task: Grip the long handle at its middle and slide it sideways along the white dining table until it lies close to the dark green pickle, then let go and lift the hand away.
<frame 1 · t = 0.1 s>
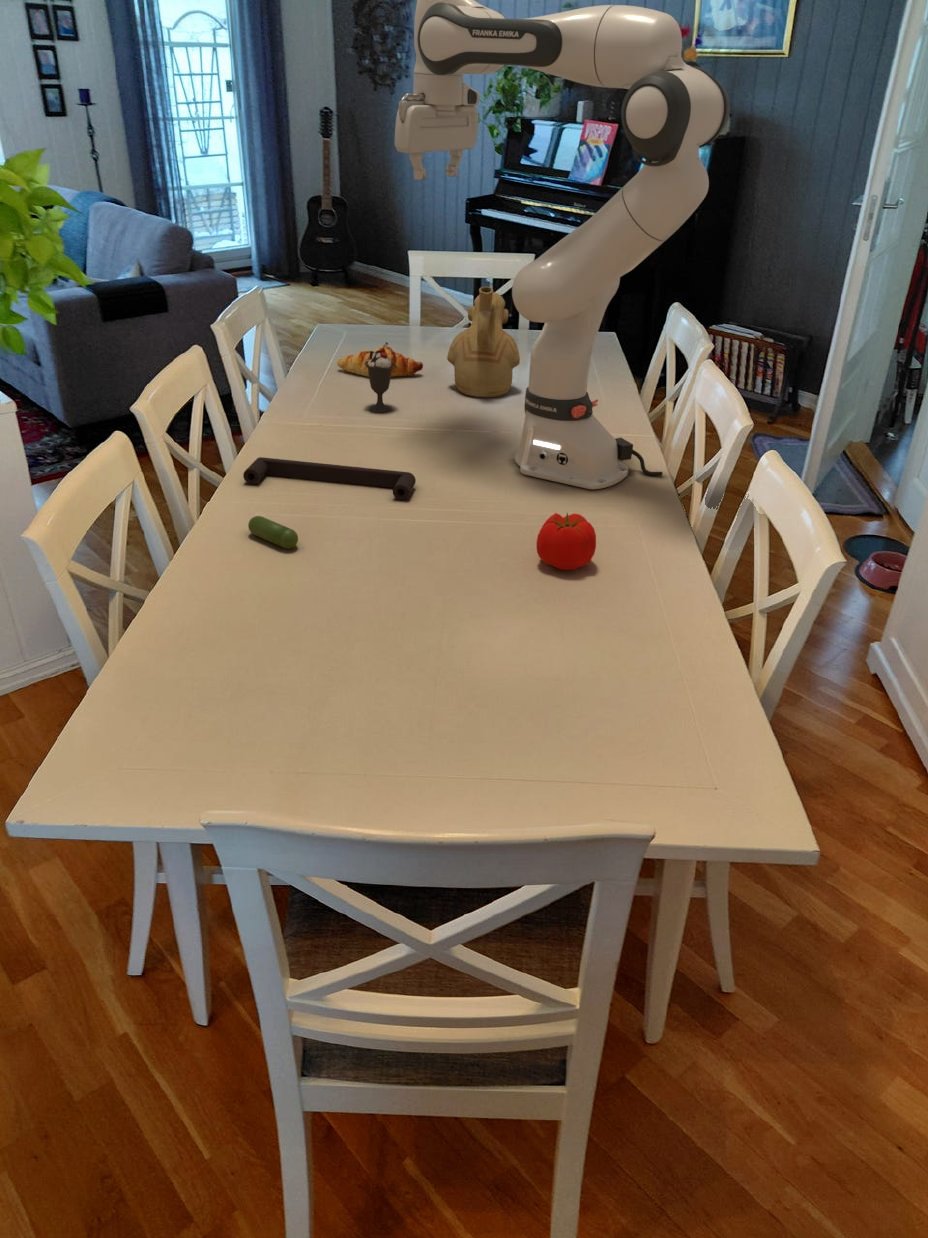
hand: (436, 177, 174), 48 cm above the table, tool pointing down, fingers open, 8 cm apart
tomato: (562, 564, 147), on the table
sundae: (380, 409, 207), on the table
croissant: (380, 373, 230), on the table
pickle: (273, 541, 149), on the table
handle: (330, 486, 169), on the table
ceramic vessel: (481, 390, 221), on the table
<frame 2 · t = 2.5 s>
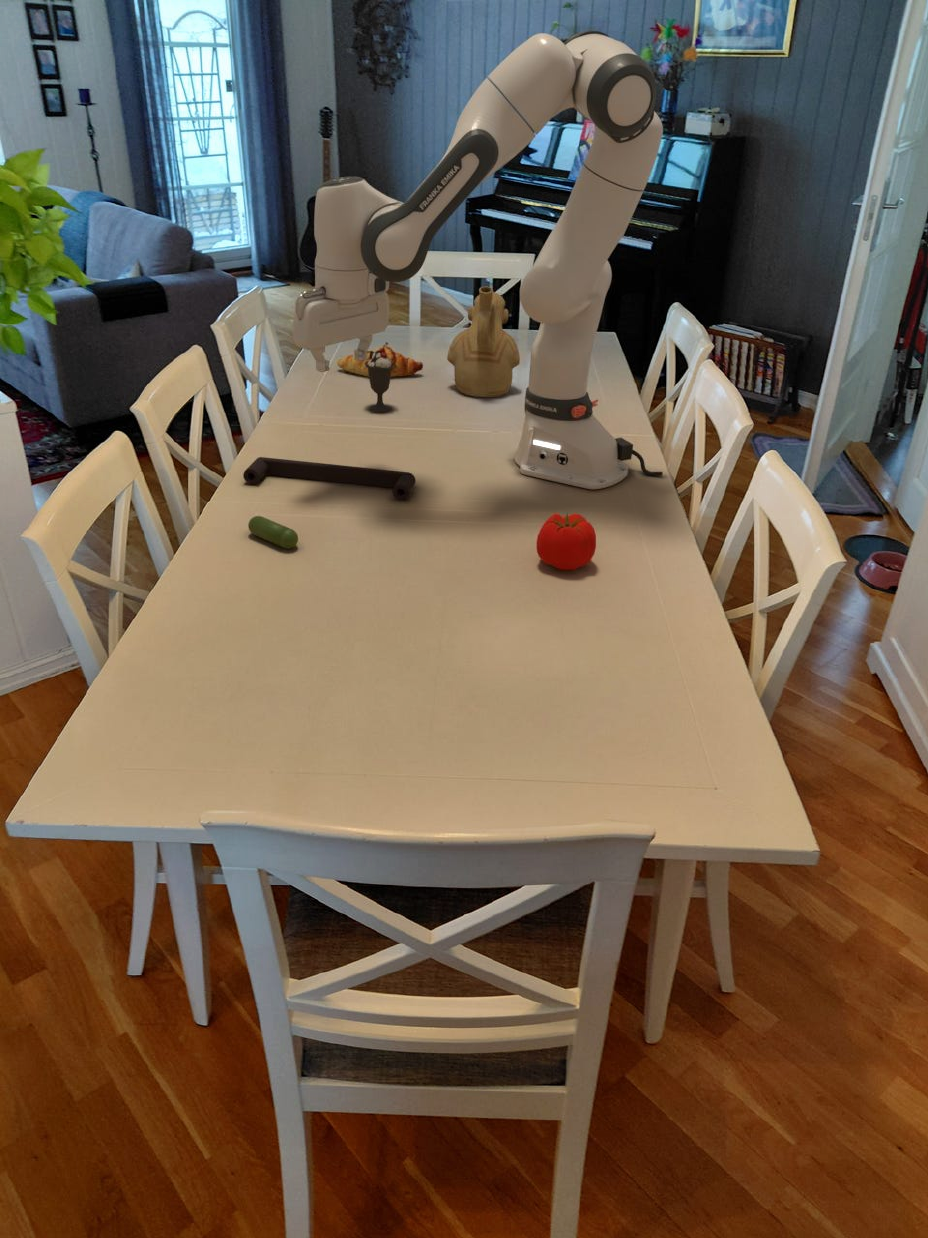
hand: (342, 365, 163), 21 cm above the table, tool pointing down, fingers open, 8 cm apart
nothing on the table moved.
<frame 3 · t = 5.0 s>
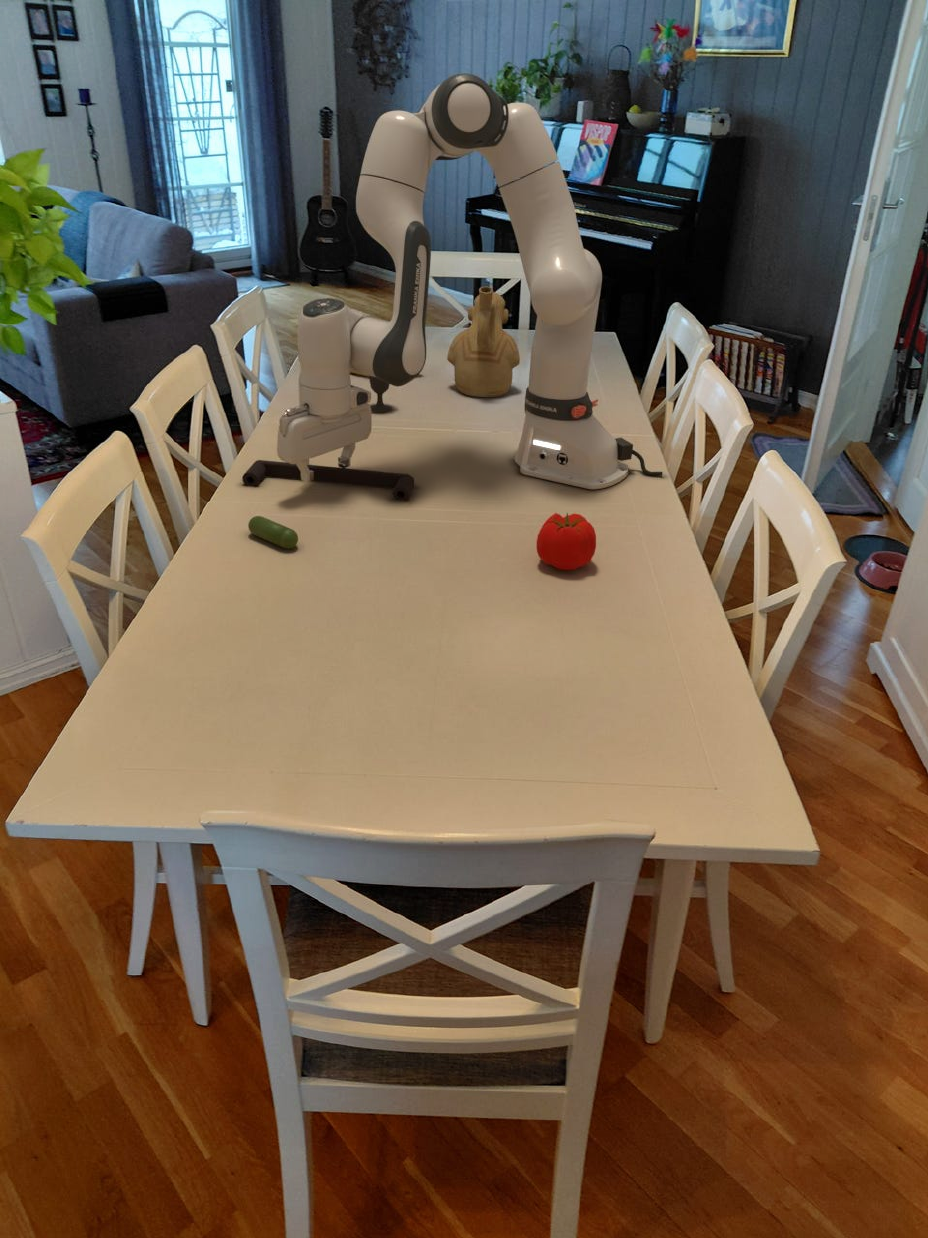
hand: (326, 473, 168), 2 cm above the table, tool pointing down
handle: (329, 489, 169), on the table, touching gripper
everything else where it was.
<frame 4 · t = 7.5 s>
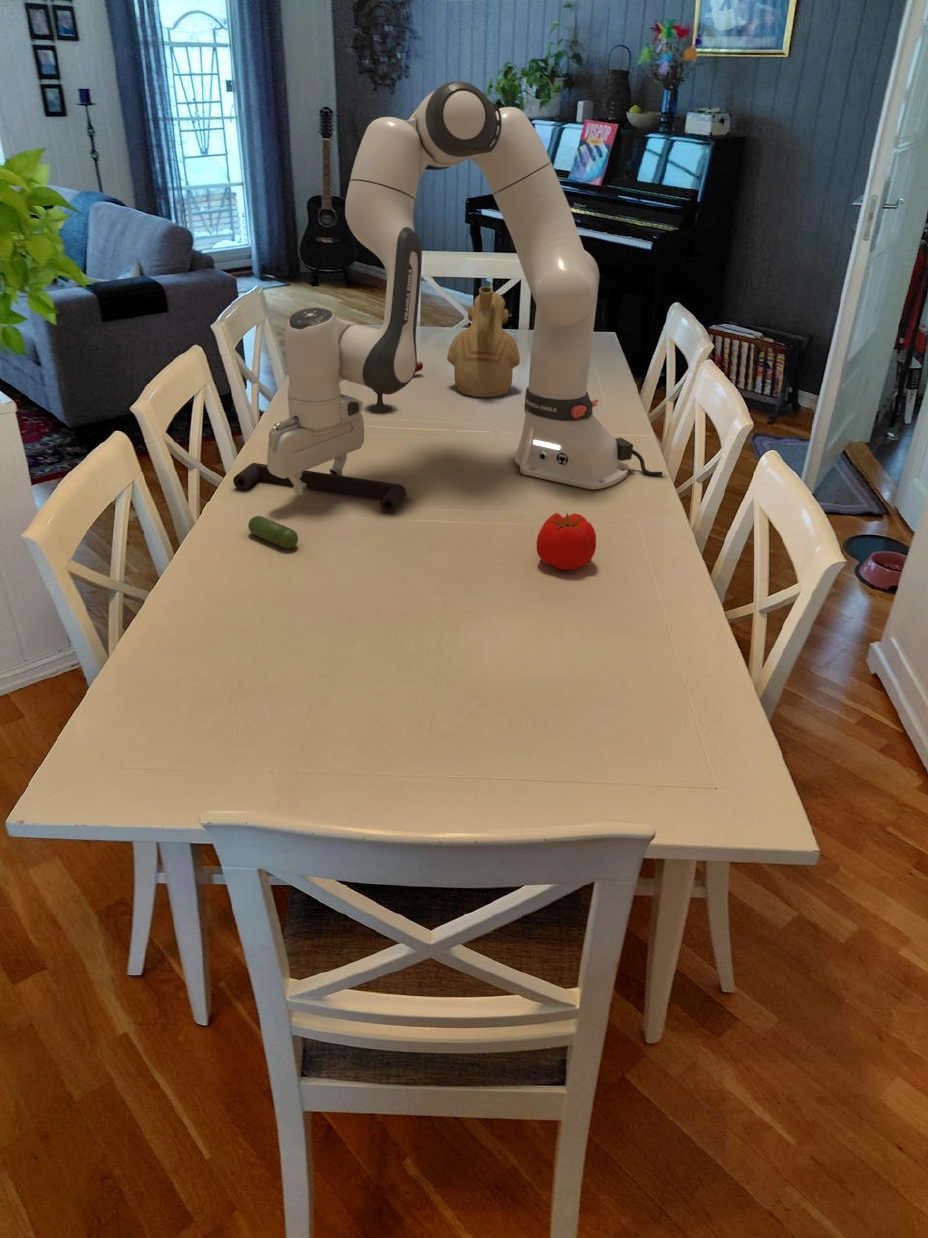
hand: (318, 485, 165), 2 cm above the table, tool pointing down, fingers closed on handle, 7 cm apart
handle: (320, 495, 166), on the table, touching gripper
everything else where it was.
when the fingers open (2 cm above the table, at t = 9.6 s): handle stays where it is, on the table.
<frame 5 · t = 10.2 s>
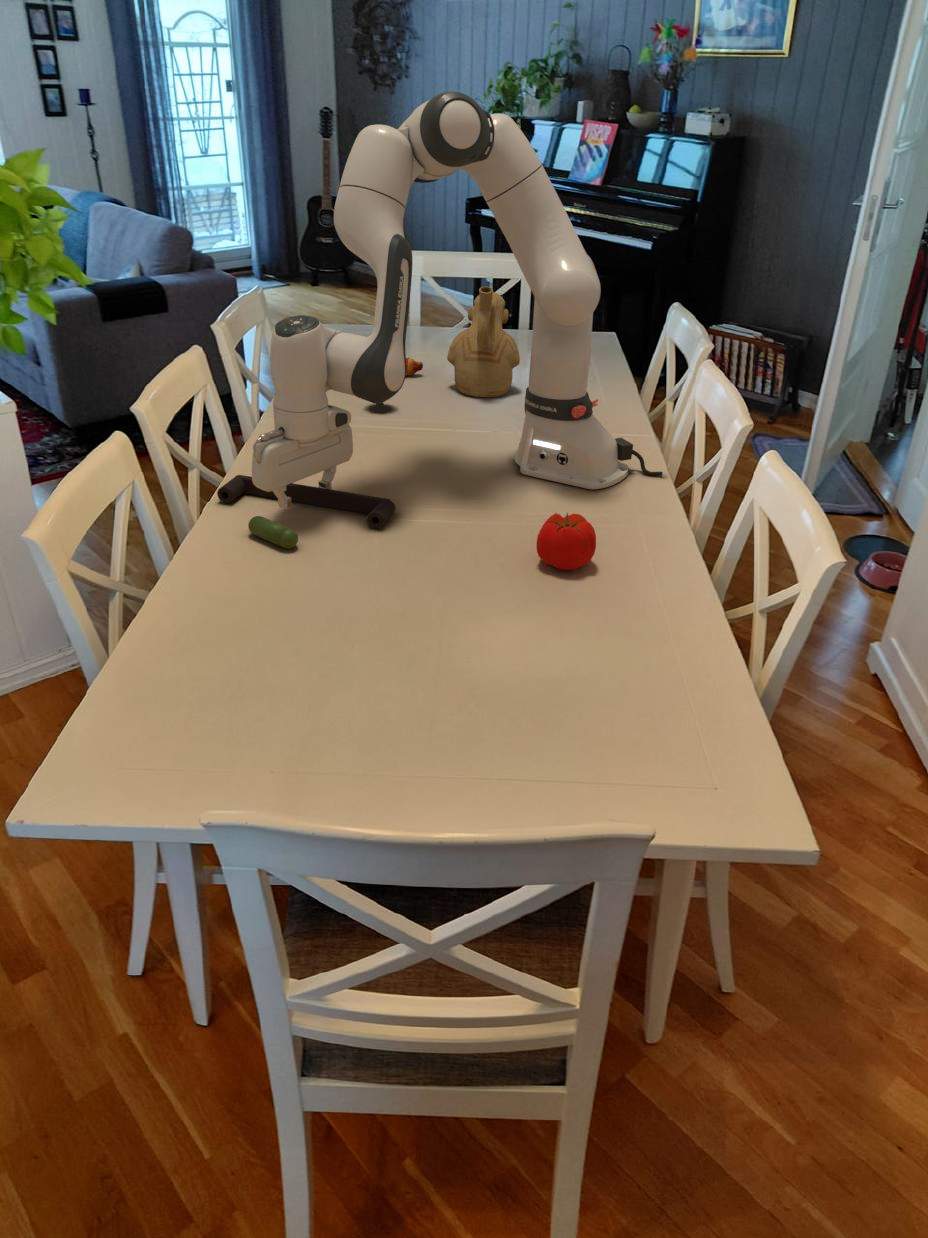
hand: (305, 498, 159), 2 cm above the table, tool pointing down, fingers open, 8 cm apart
handle: (306, 509, 161), on the table
everything else where it was.
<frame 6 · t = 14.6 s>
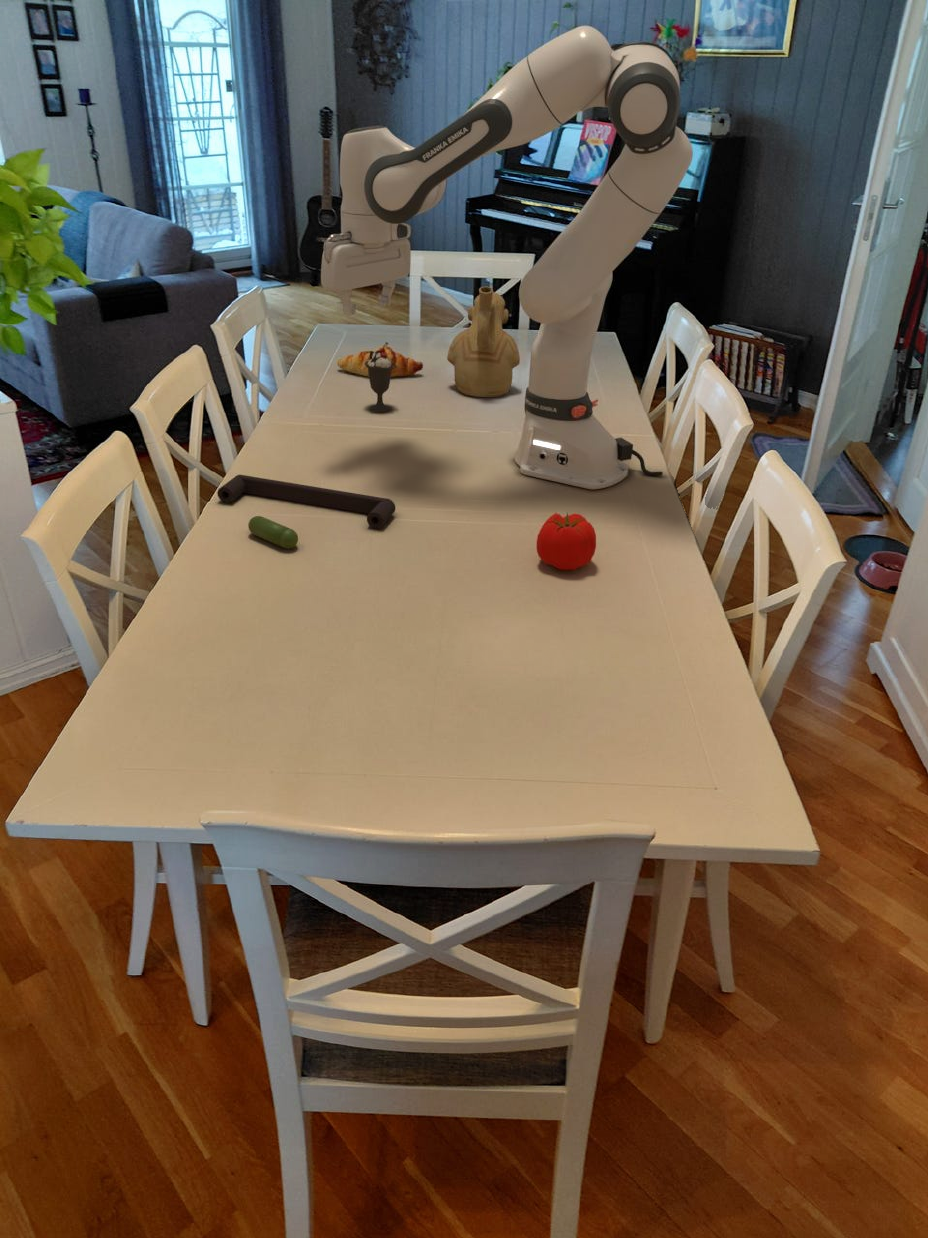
hand: (367, 309, 171), 27 cm above the table, tool pointing down, fingers open, 8 cm apart
nothing on the table moved.
at the end: handle 13.2 cm from the pickle (horizontally); handle moved 10.6 cm from its start; pickle moved 0.0 cm from its start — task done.
